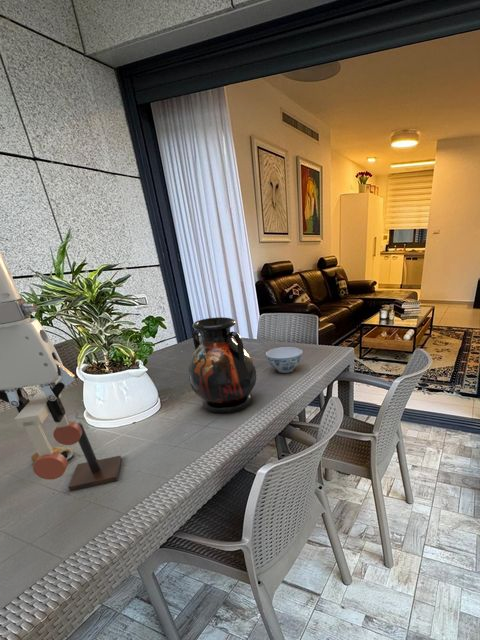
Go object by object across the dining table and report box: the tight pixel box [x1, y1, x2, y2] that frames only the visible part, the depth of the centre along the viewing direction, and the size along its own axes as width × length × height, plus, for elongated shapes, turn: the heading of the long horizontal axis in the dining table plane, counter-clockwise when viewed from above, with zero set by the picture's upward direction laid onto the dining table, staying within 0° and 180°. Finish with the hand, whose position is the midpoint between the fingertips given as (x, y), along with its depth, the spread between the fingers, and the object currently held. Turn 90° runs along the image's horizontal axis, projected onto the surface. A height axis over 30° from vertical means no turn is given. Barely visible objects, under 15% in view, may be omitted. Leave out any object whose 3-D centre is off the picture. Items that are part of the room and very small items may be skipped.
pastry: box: [31, 446, 74, 463], centre depth 93 cm, size 9×7×4 cm
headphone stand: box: [68, 422, 123, 492], centre depth 84 cm, size 10×10×14 cm
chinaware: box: [265, 346, 303, 374], centre depth 147 cm, size 15×15×8 cm
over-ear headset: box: [14, 389, 82, 481], centre depth 63 cm, size 4×14×12 cm, turn 20°
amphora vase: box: [188, 316, 258, 414], centre depth 114 cm, size 22×22×28 cm
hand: (46, 420), depth 62 cm, fingers closed on over-ear headset, 3 cm apart
